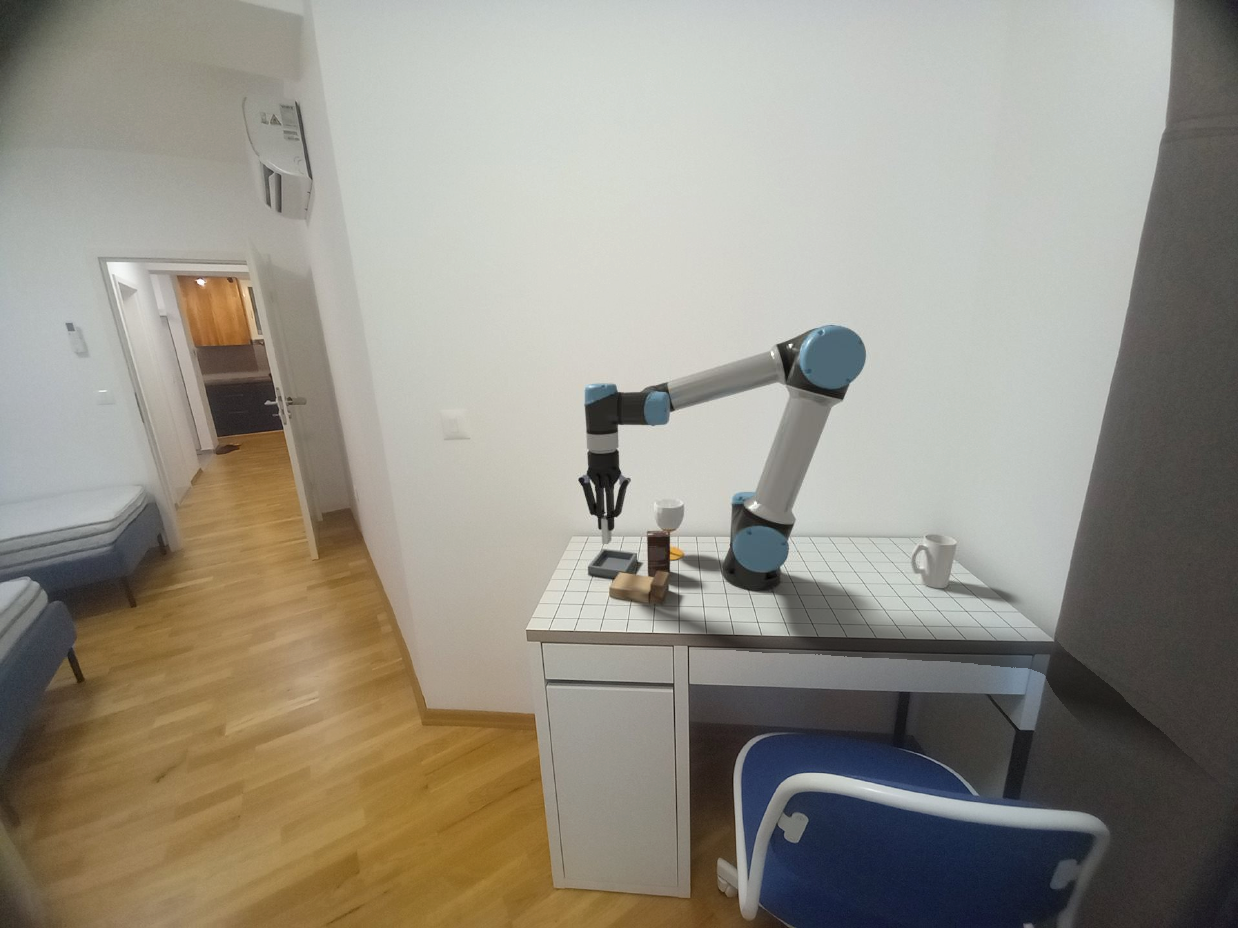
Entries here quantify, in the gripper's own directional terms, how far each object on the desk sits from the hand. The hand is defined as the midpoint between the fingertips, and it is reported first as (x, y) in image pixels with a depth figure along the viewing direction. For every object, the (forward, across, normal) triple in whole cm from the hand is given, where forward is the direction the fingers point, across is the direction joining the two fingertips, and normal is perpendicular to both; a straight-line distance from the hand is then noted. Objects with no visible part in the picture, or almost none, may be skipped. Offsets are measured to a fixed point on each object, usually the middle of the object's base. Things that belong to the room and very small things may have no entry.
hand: (606, 541), depth 112 cm
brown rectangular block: (+13, -13, 0) cm, 19 cm away
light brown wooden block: (+14, -6, 0) cm, 15 cm away
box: (+13, -10, -11) cm, 20 cm away
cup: (+13, -10, -24) cm, 29 cm away
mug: (+14, -77, -26) cm, 83 cm away
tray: (+13, +3, -11) cm, 17 cm away
